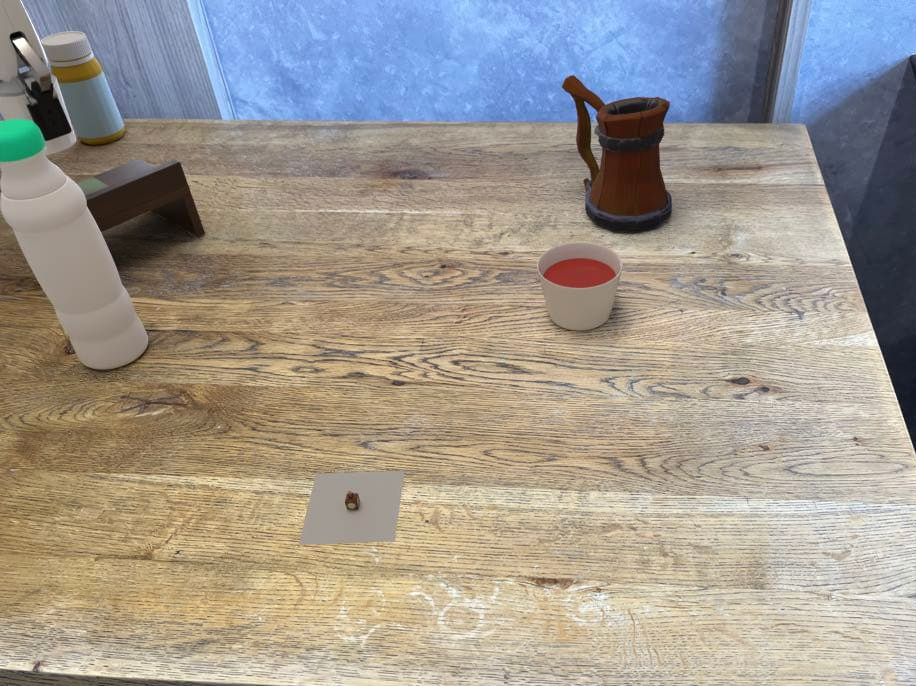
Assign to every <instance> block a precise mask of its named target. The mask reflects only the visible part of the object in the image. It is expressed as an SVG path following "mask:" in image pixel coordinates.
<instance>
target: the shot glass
mask: <svg viewBox="0 0 916 686" xmlns="http://www.w3.org/2000/svg"><path fill="white" fill-rule="evenodd" d="M51 81H52V83H53V84H54V85H53V87H54V89H55V91H56V93H57V95H58V99H59V101H60V104H61V106H62V108H63V110H64V113H65V115H66V117H67V120H68V122H69V124H70V127H71V129H72V131H71V133H69V134H66V135H63V136H61V137H58V138H55V139H52V140H49V141H45V146H46V148H47V150H46V152H45V155H46V156H49V155H53V154H57V153H60V152H63V151H66V150H67V149H69V148H71V147H72V146H74V144H75V143H77V137H76V132H75V130H74V127H73V125H72V123H71V120H70V118H69V115H68V112H67V109H66V106H65V103H64V100H63V97H62V94H61V91H60V88H59V85H58V82H57V78H56V77H55V76H54V75H52V74H51ZM25 82H26V83H27V85H28V86H29V88H30V90H31V82H34V79H33V78H31V79H28V80H25ZM28 104H29V102H28V100H27V99H26V97H25V96H24V94H23V92H22V91H21V89H20V87H19V86H18V84H17V83H16V81H15V79H14V78H13V77H12V80H11V81H10V82H5V81H0V114H1V117H2V118H3V121H5V120H12V119H26V120H30V121H32V122H34V121H33V119H32V117H31V115H30V113H29V110H28V108H27V106H26V105H28Z"/></svg>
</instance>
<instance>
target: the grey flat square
mask: <svg viewBox="0 0 916 686" xmlns="http://www.w3.org/2000/svg"><path fill="white" fill-rule="evenodd" d="M405 472H406V471H405V470H387V471H386V470H385V471H384V470H383V471H360V472H359V471H358V472H357V471H355V472H331V473H329V472H328V473H327V472H326V473H315V477H314V480H313V485H312V489H311V493H310V497H309V501H308V505H307V509H306V513H305V516H304V521H303V524H302V529H301V533H300V536H299V541H298V546H302V545H303V546H305V545H306V546H307V545H332V544H333V545H334V544H335V545H336V544H337V545H338V544H362V543H363V544H364V543H387V542H388V543H389V542H390V543H392V542H396V536H397V528H398V521H399V514H400V507H401V500H402V495H403V486H404V479H405Z"/></svg>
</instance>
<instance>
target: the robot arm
mask: <svg viewBox="0 0 916 686" xmlns="http://www.w3.org/2000/svg"><path fill="white" fill-rule="evenodd" d="M48 66H49V61H48V58H47V57H46V54H45V52H44V50H43V47H42V45H41V39H40V38H39V35H38V33H37V32H36V29H35V26H34V25H33V23H32V20H31V18H30V15H29V14H28V11H27V10H26V8H25V6H24V3H23V1H22V0H0V81H5V82H10V81H11V80H12V77H13V78H14V79H15V81H16V83H17V84H18V86H19V87H20V89H21V91H22V92H23V94H24V96H25V97H26V99H27V100H28V102H29V104H28V105H26V106H27V108H28V110H29V113H30V115H31V117H32V119H33V121H34V123H35V124H36V125H37V126H38V127H39V129H40V131H41V133H42V135H43V137H44V140H45V141H49V140H52V139H55V138H58V137H61V136H63V135H66V134H69V133H71V131H72V129H71V127H70V124H69V122H68V120H67V117H66V115H65V113H64V110H63V108H62V106H61V104H60V101H59V99H58V95H57V93H56V91H55V89H54V87H53V85H54V84H53V83H52V81H51V70H50V69H49V67H48ZM26 67H27V69H28V70H27V71H24V72H20V69H22V68H26ZM31 78H33V79H34V82H31V90H30V88H29V86H28V85H27V83H26V82H25V80H28V79H31Z"/></svg>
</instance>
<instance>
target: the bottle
mask: <svg viewBox="0 0 916 686" xmlns="http://www.w3.org/2000/svg"><path fill="white" fill-rule="evenodd" d="M40 42H41V45H42V47H43V50H44V52H45V55H46V58H47V61H48V64H49V65H50V73H51V74H52V75H54V76H55V77H56V78H57V82H58V85H59V88H60V91H61V94H62V97H63V100H64V103H65V106H66V109H67V112H68V115H69V118H70V121H71V124H72V127H73V130H74V133H75V135H76V136H77V138H78V140H79V141H81V142H82V143H84V144H86V145H90V146H100V145H106V144H109V143H113V142H115V141H117V140H119V139H121V138H122V137H123V136H124V133H125V131H126V127H125V124H124V122H123V119H122V116H121V113H120V111H119V108H118V106H117V104H116V101H115V98H114V96H113V93H112V90H111V88H110V85H109V82H108V80H107V78H106V74H105V73H104V70H103V68H102V65H101V64H100V62H99V61H98V60H97V58H95V55H94V52H93V50H92V47H91V44H90V41H89V40H88V37H87V35H86V33H84V32H83V31H78V30H69V31H61V32H57V33H52V34H49V35H47V36H45V37H43V38H42V39H40Z"/></svg>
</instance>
